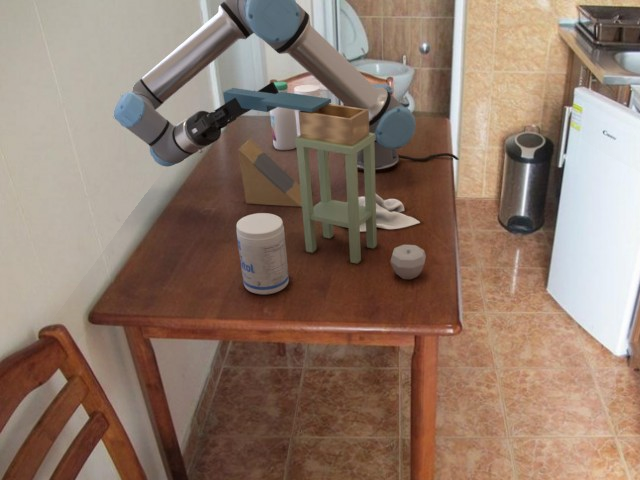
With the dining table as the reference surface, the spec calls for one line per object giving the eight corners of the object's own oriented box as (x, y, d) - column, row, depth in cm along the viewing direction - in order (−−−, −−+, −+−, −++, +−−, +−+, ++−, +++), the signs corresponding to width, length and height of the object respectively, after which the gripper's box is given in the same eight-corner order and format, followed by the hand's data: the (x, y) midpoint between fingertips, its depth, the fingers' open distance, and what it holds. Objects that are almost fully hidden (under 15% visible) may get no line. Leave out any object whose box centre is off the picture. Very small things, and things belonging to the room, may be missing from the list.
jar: (297, 127, 227) (293, 83, 219) (325, 127, 227) (322, 83, 219) (294, 139, 218) (290, 93, 209) (323, 138, 218) (320, 92, 210)
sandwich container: (301, 207, 174) (296, 152, 166) (245, 203, 176) (237, 149, 168) (310, 193, 181) (305, 140, 173) (256, 190, 183) (249, 137, 175)
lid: (219, 107, 145) (216, 94, 144) (240, 98, 151) (238, 85, 149) (313, 123, 136) (311, 108, 135) (331, 112, 142) (331, 98, 140)
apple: (401, 262, 149) (401, 236, 145) (432, 271, 146) (433, 245, 142) (383, 278, 143) (382, 252, 140) (415, 288, 140) (415, 261, 136)
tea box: (300, 137, 139) (298, 111, 137) (319, 126, 145) (317, 101, 142) (352, 146, 135) (350, 119, 132) (369, 134, 141) (368, 109, 138)
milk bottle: (302, 143, 214) (296, 80, 203) (291, 152, 208) (285, 87, 197) (280, 141, 216) (274, 78, 205) (269, 149, 210) (262, 85, 199)
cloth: (327, 231, 162) (326, 208, 159) (338, 200, 177) (337, 178, 174) (419, 234, 161) (419, 210, 157) (421, 202, 176) (421, 180, 173)
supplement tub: (235, 285, 141) (224, 223, 133) (269, 268, 147) (261, 208, 139) (264, 301, 136) (256, 238, 128) (299, 283, 142) (292, 221, 134)
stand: (304, 251, 154) (294, 138, 139) (327, 233, 161) (319, 124, 146) (357, 264, 148) (352, 148, 134) (378, 245, 156) (375, 133, 141)
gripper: (239, 130, 167) (297, 96, 154) (170, 163, 148) (230, 128, 135) (223, 102, 165) (281, 66, 152) (151, 132, 146) (210, 94, 133)
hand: (257, 95), depth 144 cm, fingers open, 13 cm apart
